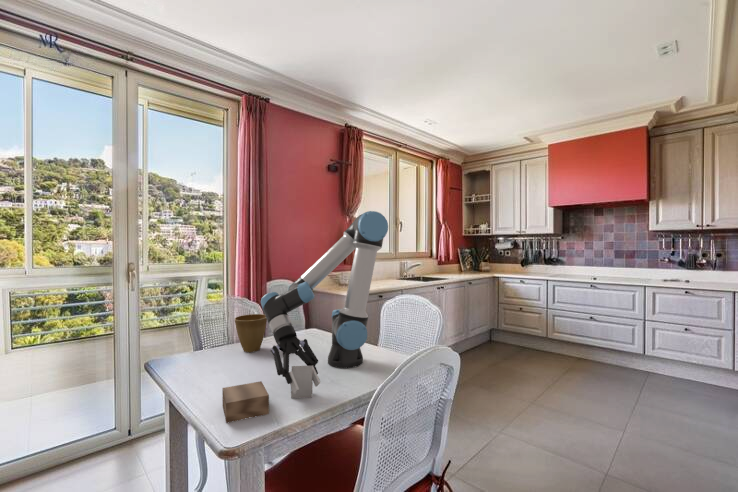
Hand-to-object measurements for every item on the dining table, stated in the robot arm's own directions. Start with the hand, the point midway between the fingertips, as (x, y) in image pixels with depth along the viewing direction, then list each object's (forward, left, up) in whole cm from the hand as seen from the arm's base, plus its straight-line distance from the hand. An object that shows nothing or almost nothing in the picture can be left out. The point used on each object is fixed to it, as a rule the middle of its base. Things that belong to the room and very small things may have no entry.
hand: (307, 387), depth 118 cm
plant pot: (+18, -62, -4) cm, 65 cm away
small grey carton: (+1, -3, -4) cm, 5 cm away
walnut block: (+19, +2, -4) cm, 20 cm away
